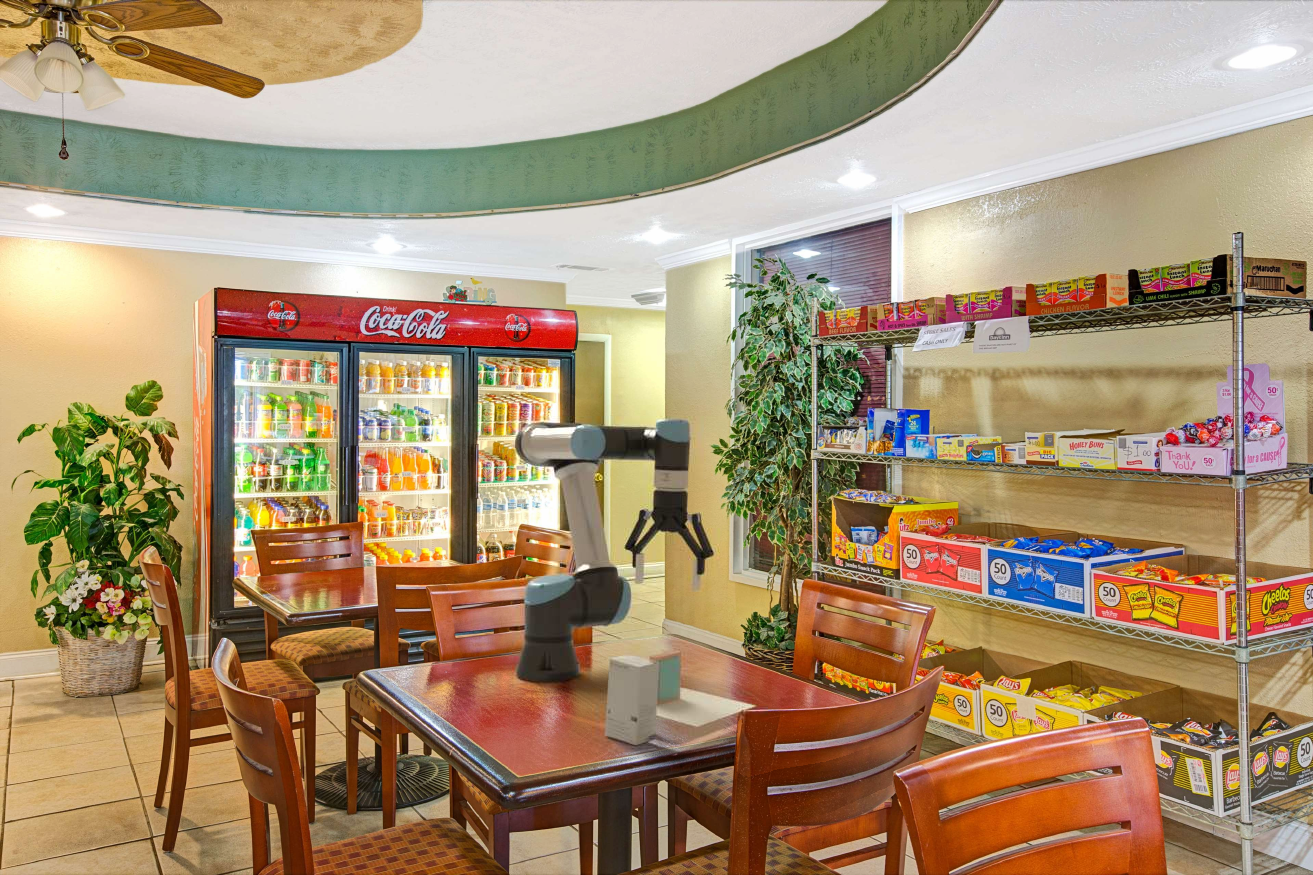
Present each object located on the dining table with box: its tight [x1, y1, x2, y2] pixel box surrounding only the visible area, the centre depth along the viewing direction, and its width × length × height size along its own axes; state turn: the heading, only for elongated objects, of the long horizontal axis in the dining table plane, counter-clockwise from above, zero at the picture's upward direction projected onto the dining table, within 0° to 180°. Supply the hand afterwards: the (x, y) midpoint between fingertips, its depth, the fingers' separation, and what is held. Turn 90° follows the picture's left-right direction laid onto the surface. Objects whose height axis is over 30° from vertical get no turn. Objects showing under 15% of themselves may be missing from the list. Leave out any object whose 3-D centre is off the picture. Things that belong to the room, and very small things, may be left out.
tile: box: [649, 649, 682, 705], centre depth 190 cm, size 2×8×10 cm, turn 139°
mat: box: [656, 686, 756, 728], centre depth 188 cm, size 24×20×1 cm
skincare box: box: [604, 654, 659, 746], centre depth 169 cm, size 8×6×15 cm
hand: (667, 586), depth 196 cm, fingers open, 13 cm apart
